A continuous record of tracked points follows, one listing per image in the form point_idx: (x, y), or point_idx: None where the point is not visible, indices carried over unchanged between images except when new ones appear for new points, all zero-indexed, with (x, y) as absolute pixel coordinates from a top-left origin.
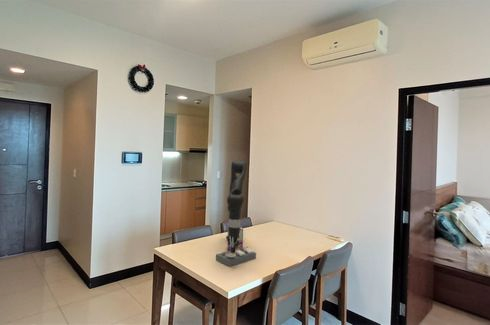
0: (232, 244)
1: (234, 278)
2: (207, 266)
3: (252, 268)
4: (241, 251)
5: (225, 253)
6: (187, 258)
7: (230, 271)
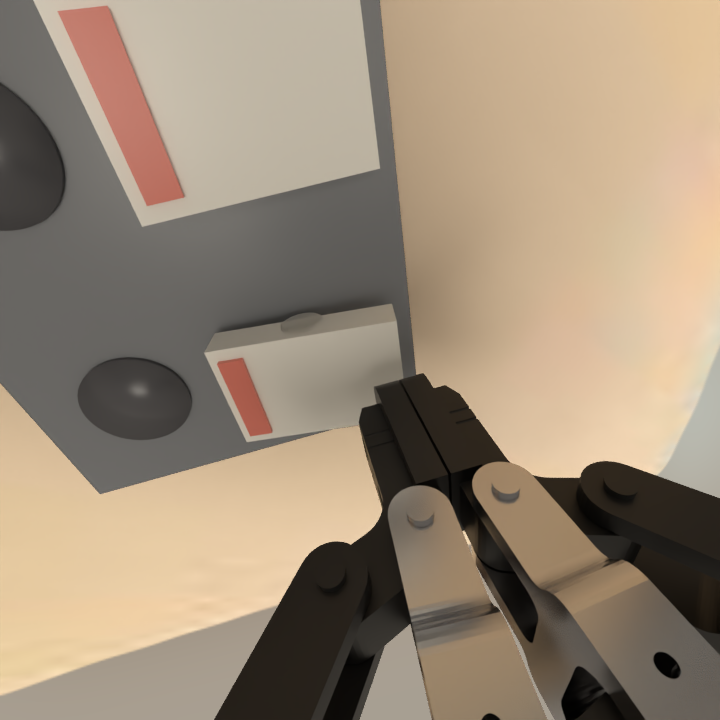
0: (512, 615)
1: (598, 405)
2: (282, 519)
3: (606, 96)
4: (223, 3)
5: (76, 360)
6: (16, 624)
7: (485, 388)
